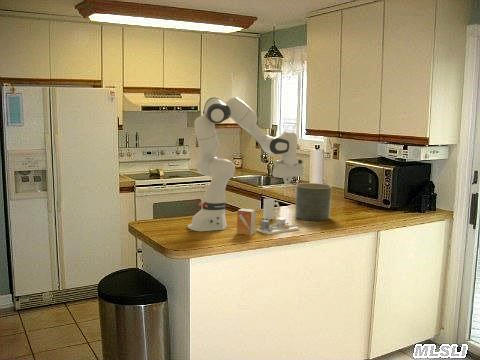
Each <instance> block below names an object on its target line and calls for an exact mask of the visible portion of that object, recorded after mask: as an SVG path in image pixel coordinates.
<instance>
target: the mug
mask: <svg viewBox="0 0 480 360" xmlns="http://www.w3.org/2000/svg"><path fill="white" fill-rule="evenodd" d="M275 206H277V210H276V212H275ZM262 208H263V213H262V214H263V220H266V219H267V220H268V221H271V219H272V220H274V216H277V215H278V213H280V212H279V211H280V204H279V202H278V201H276V202H275V198H263V207H262Z"/></svg>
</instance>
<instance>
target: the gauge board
mask: <svg viewBox="0 0 480 360" xmlns="http://www.w3.org/2000/svg"><path fill="white" fill-rule="evenodd" d="M270 221H271V220H266V219H262V220H260V226H258V227H257V228H256V231H257V232H259V233H262V234H265V235H274V234H279V233H281V234H282V233H287V232H294V231H299V230H300V227H297V226H296V225H295V224H289V222H285V224H287V225H289V226H281V227H278V226H277V223H275V224H271V223H270Z"/></svg>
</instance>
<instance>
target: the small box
mask: <svg viewBox="0 0 480 360" xmlns="http://www.w3.org/2000/svg"><path fill="white" fill-rule="evenodd" d="M236 220H237V221H236V222H237V223H236V234H237V235H243V234H244V236H253V235H254V234H255V233H256V232H255V231H256V230H255V229H256V225H255V224H256V209H250V208H240V209H237V217H236Z"/></svg>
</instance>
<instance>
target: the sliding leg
mask: <svg viewBox="0 0 480 360" xmlns="http://www.w3.org/2000/svg"><path fill="white" fill-rule="evenodd" d="M285 223H286V218H284V217H277V218H276V224H277V226H278V227H281V226H289V225H290V224H289V225H287V224H285Z"/></svg>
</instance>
